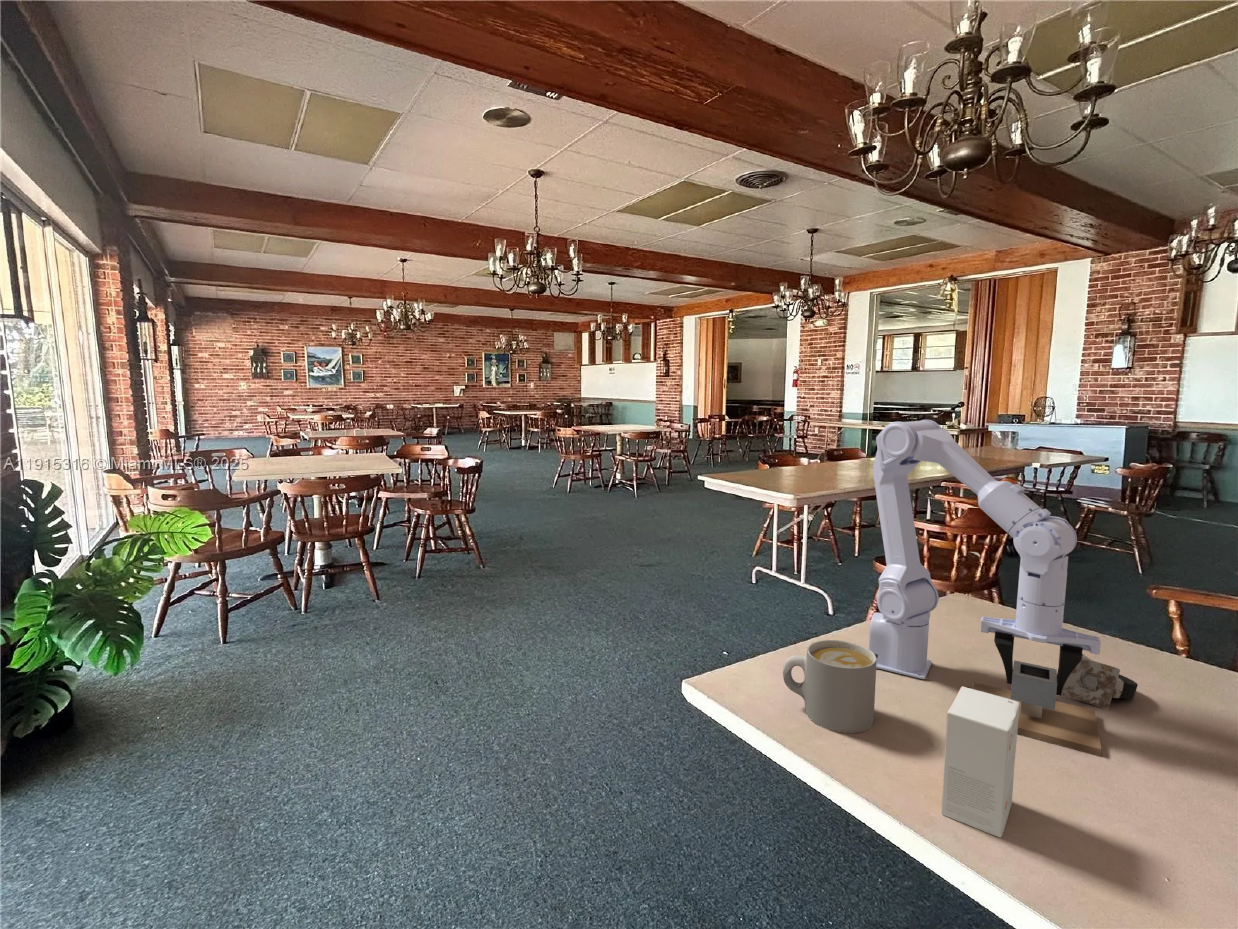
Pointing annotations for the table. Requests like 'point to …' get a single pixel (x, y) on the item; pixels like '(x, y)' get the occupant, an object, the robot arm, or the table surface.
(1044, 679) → the square hub
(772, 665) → the table surface
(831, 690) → the coffee mug
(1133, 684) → the caster wheel
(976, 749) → the small box
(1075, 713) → the post board
